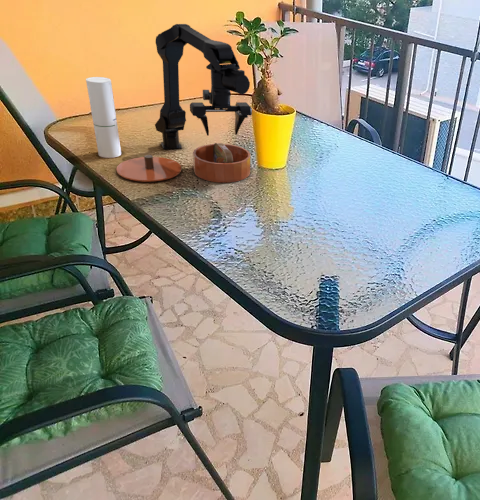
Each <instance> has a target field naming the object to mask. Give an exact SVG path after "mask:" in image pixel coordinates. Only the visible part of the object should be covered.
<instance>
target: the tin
mask: <svg viewBox="0 0 480 500" xmlns="http://www.w3.org/2000/svg"><path fill="white" fill-rule="evenodd" d="M213 144H214V147H213V159H214V163H233V156H232V153H231V151H230V150H229V149H228V148H227V147H226V146H225V145H224V144H225V143H222V142H220V143H219V142H215V143H213Z"/></svg>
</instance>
